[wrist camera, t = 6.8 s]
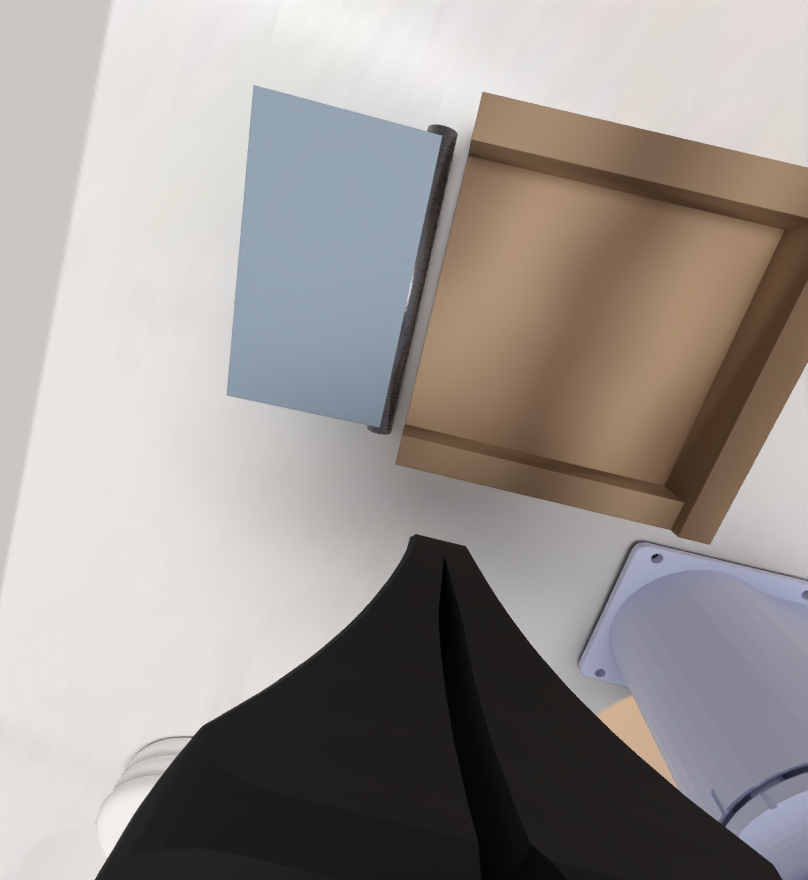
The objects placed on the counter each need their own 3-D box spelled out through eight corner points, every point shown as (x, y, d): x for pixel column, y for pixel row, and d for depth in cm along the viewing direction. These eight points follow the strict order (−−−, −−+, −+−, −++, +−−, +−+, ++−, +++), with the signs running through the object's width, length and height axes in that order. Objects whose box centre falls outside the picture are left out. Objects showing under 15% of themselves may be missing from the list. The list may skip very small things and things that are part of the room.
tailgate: (460, 128, 13) (254, 73, 13) (390, 437, 17) (226, 402, 16) (455, 141, 15) (266, 90, 14) (391, 428, 18) (237, 395, 17)
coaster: (248, 855, 30) (224, 925, 27) (116, 801, 29) (74, 865, 26) (300, 772, 27) (280, 838, 23) (153, 709, 26) (111, 768, 23)
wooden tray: (802, 207, 15) (904, 181, 12) (662, 501, 19) (709, 544, 16) (474, 131, 15) (484, 83, 12) (402, 439, 19) (394, 469, 16)
